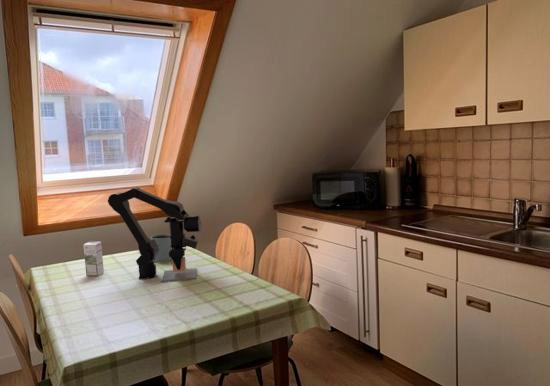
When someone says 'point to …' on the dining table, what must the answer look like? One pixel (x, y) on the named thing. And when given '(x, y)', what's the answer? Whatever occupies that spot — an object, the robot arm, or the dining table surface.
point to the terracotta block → (183, 266)
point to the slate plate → (179, 275)
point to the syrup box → (93, 258)
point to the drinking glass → (162, 247)
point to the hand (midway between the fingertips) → (179, 267)
